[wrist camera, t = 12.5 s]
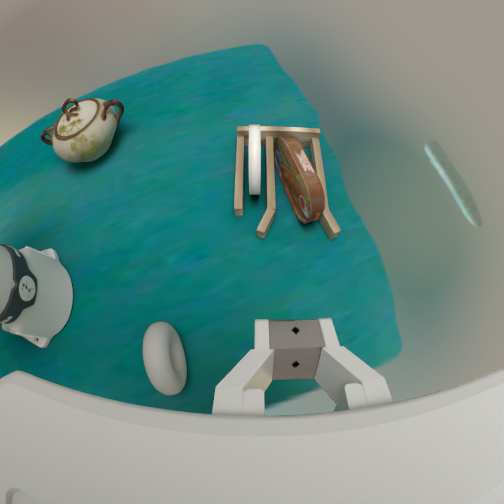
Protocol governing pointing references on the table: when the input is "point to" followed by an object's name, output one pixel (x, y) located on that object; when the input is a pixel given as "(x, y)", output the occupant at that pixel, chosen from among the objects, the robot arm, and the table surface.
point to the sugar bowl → (84, 129)
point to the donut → (164, 358)
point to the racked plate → (254, 159)
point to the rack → (268, 136)
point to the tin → (299, 179)
